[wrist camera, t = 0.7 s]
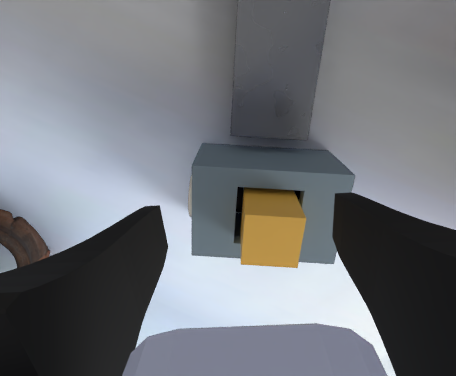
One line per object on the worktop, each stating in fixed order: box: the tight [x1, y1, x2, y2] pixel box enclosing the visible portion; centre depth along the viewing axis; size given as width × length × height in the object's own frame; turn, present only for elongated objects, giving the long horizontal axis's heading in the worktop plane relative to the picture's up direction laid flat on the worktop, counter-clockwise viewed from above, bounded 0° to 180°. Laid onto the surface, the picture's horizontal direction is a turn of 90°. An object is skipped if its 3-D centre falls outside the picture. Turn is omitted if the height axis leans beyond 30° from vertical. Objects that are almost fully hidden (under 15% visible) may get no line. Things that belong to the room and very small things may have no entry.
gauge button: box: [240, 187, 306, 268], centre depth 16 cm, size 3×3×4 cm
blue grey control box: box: [188, 143, 355, 264], centre depth 19 cm, size 9×6×5 cm, turn 87°
